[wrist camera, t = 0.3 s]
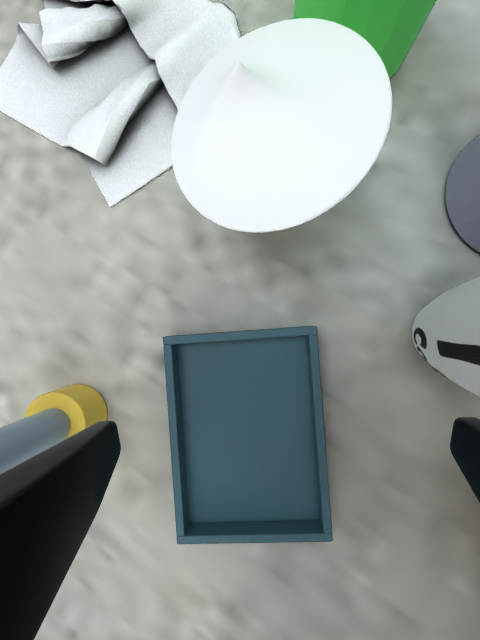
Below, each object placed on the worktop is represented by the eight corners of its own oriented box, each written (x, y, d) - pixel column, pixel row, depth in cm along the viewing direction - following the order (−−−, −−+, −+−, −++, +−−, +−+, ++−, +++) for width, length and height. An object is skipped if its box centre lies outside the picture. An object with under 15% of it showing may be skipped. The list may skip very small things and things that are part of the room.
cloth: (283, 119, 23) (286, 95, 21) (44, 240, 25) (21, 231, 22) (177, -101, 24) (168, -149, 22) (-49, 28, 25) (-81, -3, 23)
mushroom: (181, 240, 24) (99, 156, 12) (233, 115, 23) (204, -100, 12) (300, 289, 23) (343, 254, 11) (355, 161, 23) (460, -18, 11)
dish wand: (117, 424, 24) (-82, 566, 10) (69, 452, 24) (-191, 628, 10) (89, 373, 24) (-144, 442, 10) (42, 401, 25) (-248, 506, 11)
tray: (326, 521, 23) (333, 542, 21) (184, 524, 24) (177, 544, 21) (311, 325, 23) (316, 326, 21) (171, 335, 24) (162, 337, 22)
